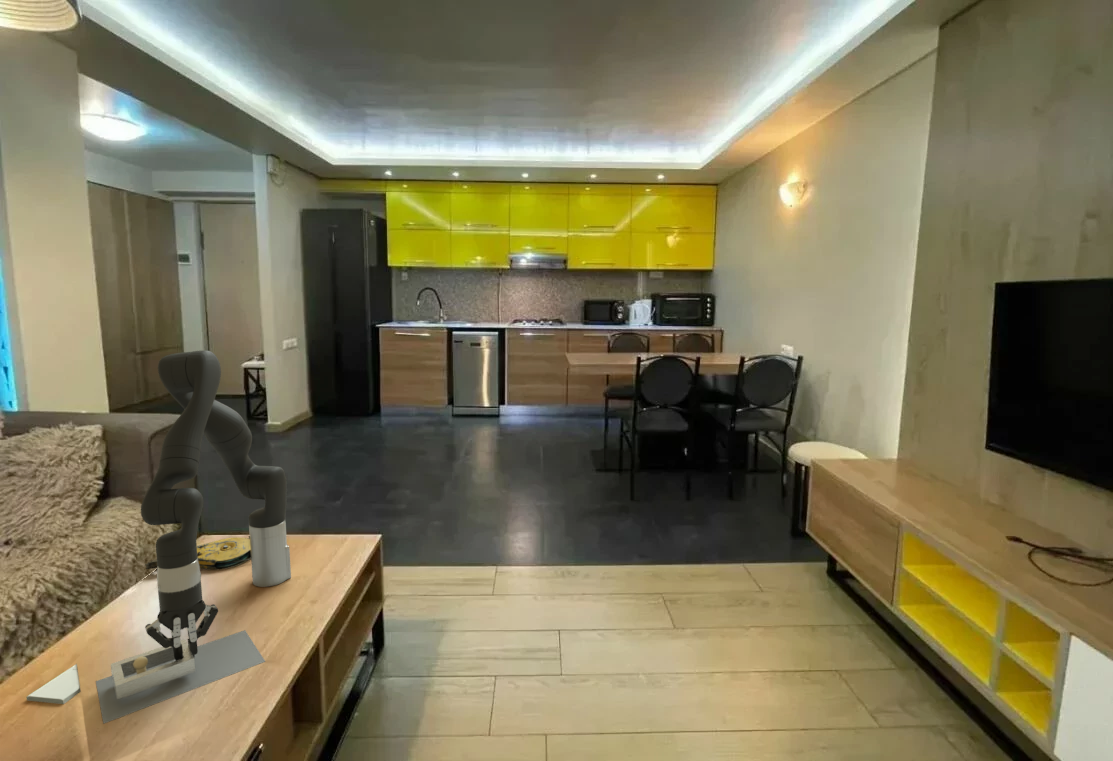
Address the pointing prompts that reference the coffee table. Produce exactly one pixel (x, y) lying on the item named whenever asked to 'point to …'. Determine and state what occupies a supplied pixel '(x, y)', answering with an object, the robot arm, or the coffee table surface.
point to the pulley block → (220, 554)
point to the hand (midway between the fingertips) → (186, 658)
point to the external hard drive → (58, 688)
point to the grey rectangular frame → (154, 675)
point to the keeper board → (209, 667)
